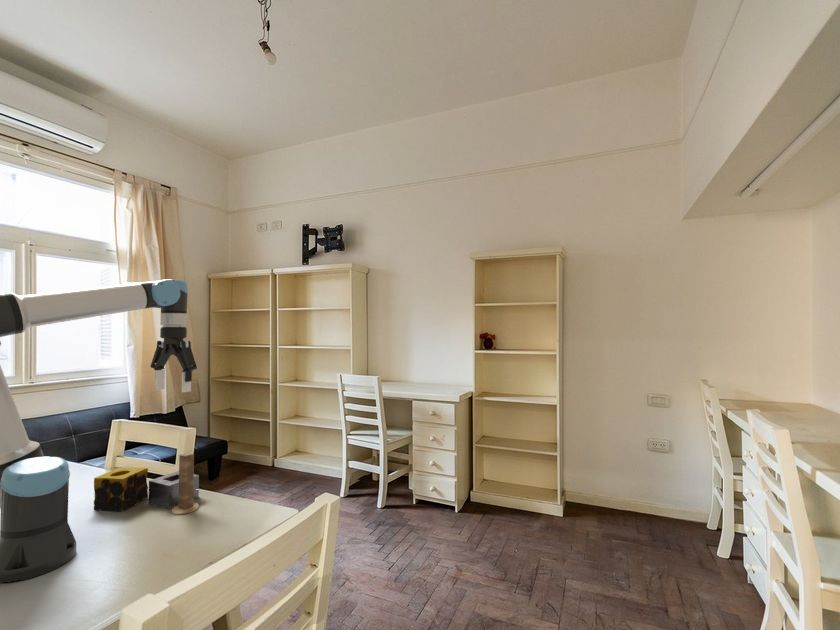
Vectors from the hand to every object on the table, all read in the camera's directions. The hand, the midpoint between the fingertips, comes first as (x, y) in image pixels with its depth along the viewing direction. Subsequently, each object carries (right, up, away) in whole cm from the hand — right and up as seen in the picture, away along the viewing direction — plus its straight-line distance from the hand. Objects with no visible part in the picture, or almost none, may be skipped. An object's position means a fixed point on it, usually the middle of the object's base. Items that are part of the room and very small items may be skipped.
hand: (172, 390), depth 135 cm
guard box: (+2, -35, -3) cm, 35 cm away
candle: (-12, -35, -6) cm, 37 cm away
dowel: (+10, -34, -10) cm, 37 cm away
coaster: (+10, -34, -10) cm, 37 cm away
